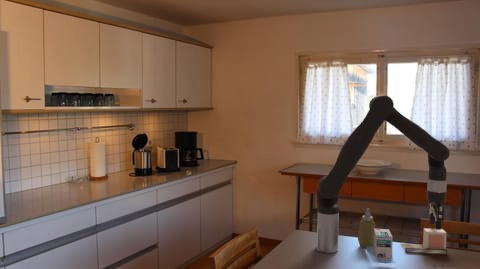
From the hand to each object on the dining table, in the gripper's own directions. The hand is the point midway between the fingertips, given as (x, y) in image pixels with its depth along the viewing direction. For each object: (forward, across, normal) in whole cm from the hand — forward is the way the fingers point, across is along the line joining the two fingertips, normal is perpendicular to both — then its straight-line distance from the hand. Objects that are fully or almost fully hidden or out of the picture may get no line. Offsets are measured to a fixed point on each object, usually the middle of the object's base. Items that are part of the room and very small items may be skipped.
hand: (434, 226), depth 189 cm
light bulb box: (+13, +6, -23) cm, 27 cm away
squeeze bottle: (+13, -5, -28) cm, 31 cm away
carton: (+11, 0, 0) cm, 11 cm away
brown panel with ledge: (+12, -2, -4) cm, 13 cm away
